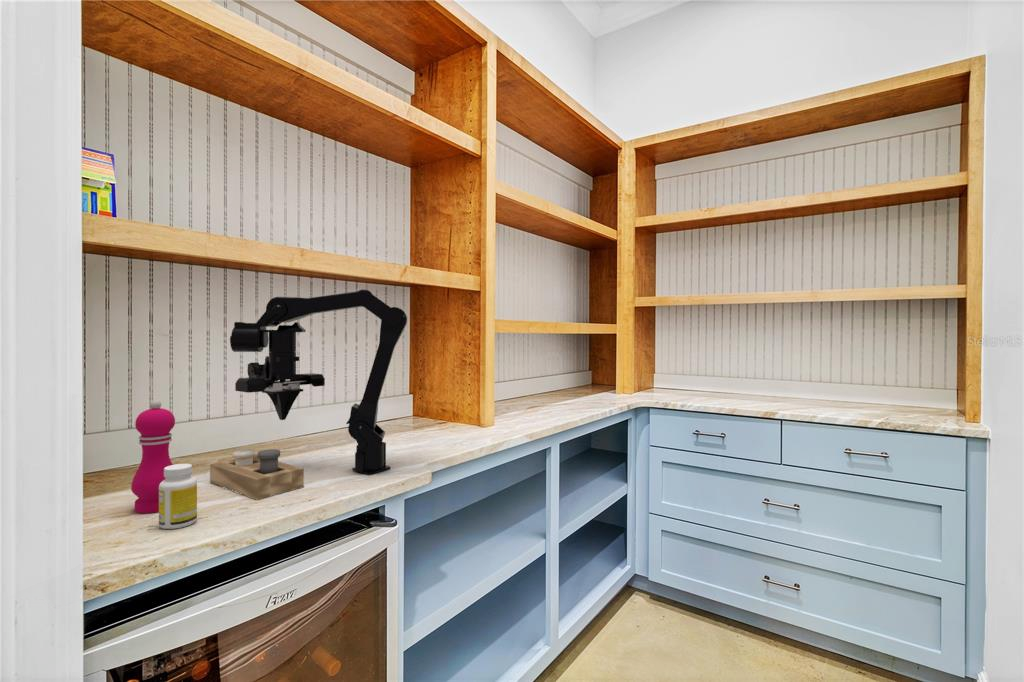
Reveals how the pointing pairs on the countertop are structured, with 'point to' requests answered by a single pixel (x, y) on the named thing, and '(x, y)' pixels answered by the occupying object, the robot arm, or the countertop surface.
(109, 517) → the countertop surface
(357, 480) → the countertop surface
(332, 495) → the countertop surface
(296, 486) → the oak socket block
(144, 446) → the pepper mill
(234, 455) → the white plug
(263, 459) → the charcoal plug
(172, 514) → the supplement bottle
